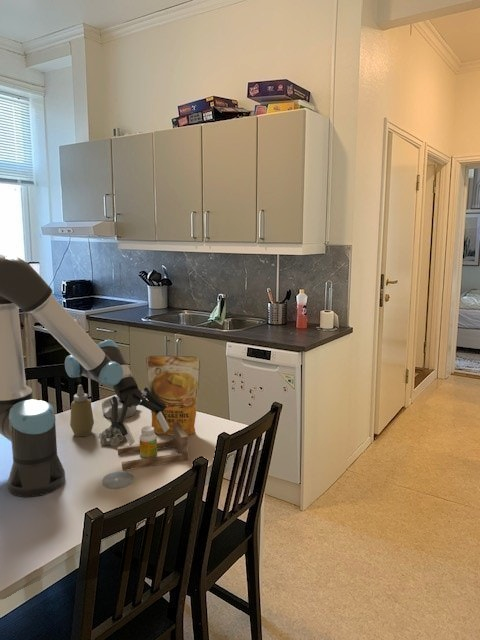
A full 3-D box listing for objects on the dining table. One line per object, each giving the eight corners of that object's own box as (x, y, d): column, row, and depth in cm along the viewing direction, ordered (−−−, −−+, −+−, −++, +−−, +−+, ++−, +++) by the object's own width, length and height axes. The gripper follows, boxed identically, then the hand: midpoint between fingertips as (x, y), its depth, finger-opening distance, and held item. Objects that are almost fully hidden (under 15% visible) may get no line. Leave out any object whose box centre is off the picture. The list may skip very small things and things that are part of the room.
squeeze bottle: (94, 427, 181) (91, 380, 178) (94, 436, 173) (92, 387, 170) (70, 430, 178) (68, 382, 175) (70, 439, 171) (67, 390, 167)
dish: (118, 422, 186) (118, 410, 185) (93, 415, 193) (93, 403, 193) (145, 411, 198) (145, 399, 197) (121, 404, 205) (120, 392, 204)
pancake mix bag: (150, 426, 182) (148, 353, 177) (201, 429, 181) (200, 355, 175) (145, 434, 176) (142, 358, 170) (197, 436, 174) (197, 360, 169)
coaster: (103, 490, 138) (103, 489, 138) (100, 475, 146) (100, 474, 146) (135, 485, 141) (135, 483, 141) (131, 470, 149) (131, 469, 149)
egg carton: (116, 447, 165) (115, 436, 165) (96, 444, 168) (95, 433, 167) (131, 435, 176) (131, 424, 175) (112, 432, 178) (112, 421, 177)
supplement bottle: (151, 462, 155) (150, 433, 153) (136, 459, 157) (135, 430, 155) (160, 454, 160) (159, 426, 158) (145, 452, 162) (144, 424, 160)
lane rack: (122, 470, 150) (121, 445, 148) (117, 452, 161) (116, 429, 160) (188, 459, 157) (187, 436, 155) (179, 443, 168) (178, 421, 167)
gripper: (148, 379, 177) (175, 430, 170) (85, 396, 159) (112, 454, 152) (157, 368, 172) (185, 420, 165) (92, 384, 155) (121, 443, 148)
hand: (150, 436), depth 159 cm, fingers open, 13 cm apart
